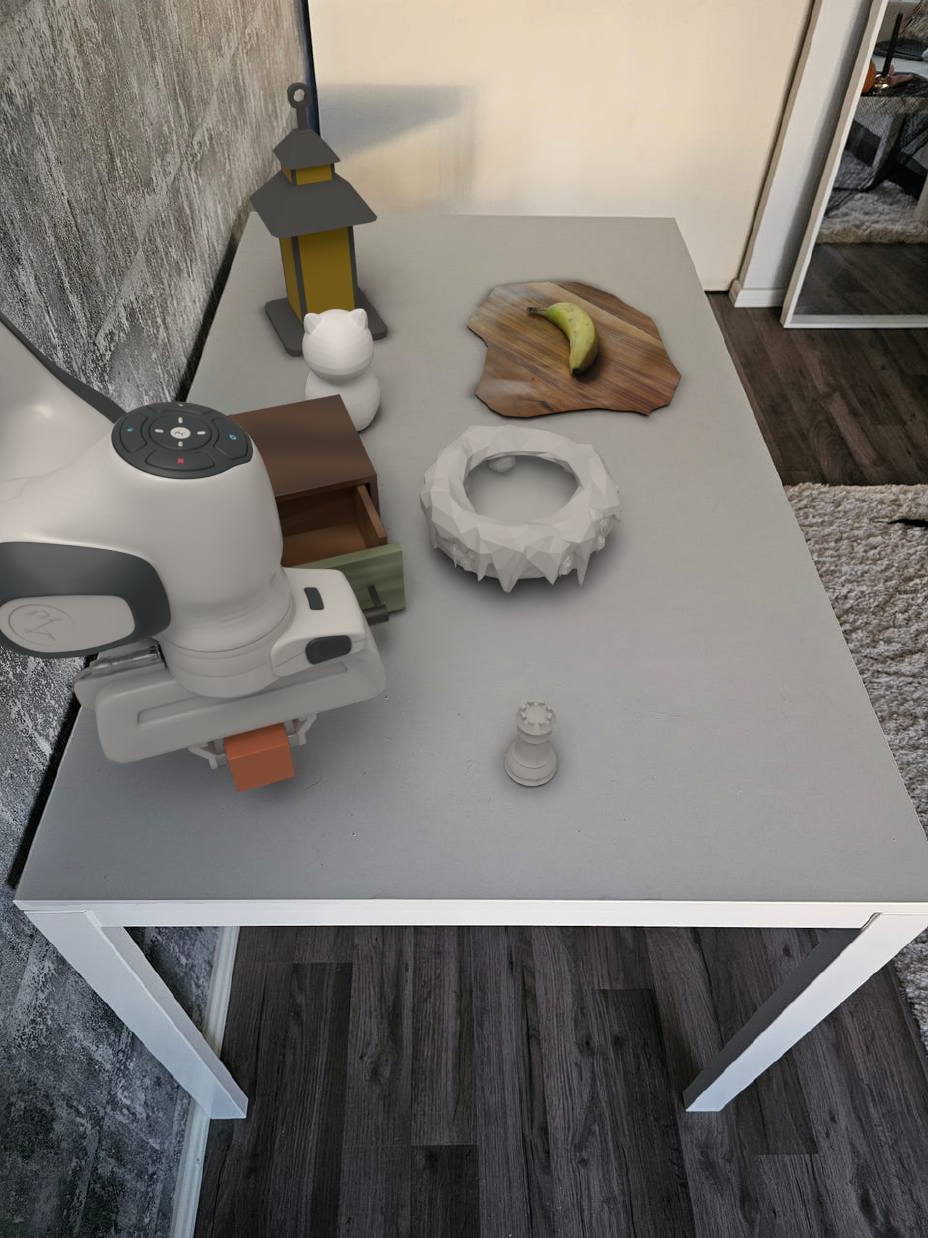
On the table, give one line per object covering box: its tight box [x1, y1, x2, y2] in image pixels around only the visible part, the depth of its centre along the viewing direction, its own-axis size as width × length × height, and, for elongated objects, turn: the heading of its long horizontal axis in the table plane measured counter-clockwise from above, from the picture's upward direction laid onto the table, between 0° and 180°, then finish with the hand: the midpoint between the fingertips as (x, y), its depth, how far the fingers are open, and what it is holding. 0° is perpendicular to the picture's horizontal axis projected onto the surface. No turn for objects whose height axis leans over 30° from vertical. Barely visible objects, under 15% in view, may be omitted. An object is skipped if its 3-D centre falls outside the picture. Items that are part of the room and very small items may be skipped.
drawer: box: [276, 484, 406, 627], centre depth 88 cm, size 18×12×8 cm
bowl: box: [418, 424, 625, 593], centre depth 93 cm, size 21×20×10 cm
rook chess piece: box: [504, 698, 557, 787], centre depth 75 cm, size 4×4×8 cm
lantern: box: [248, 81, 388, 357], centre depth 116 cm, size 14×14×30 cm
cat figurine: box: [302, 309, 382, 432], centre depth 107 cm, size 9×12×15 cm
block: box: [223, 722, 296, 793], centre depth 70 cm, size 4×4×4 cm
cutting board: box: [466, 281, 682, 418], centre depth 122 cm, size 35×27×4 cm
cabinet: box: [227, 394, 382, 522], centre depth 96 cm, size 15×14×10 cm
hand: (258, 749), depth 70 cm, fingers closed on block, 4 cm apart
